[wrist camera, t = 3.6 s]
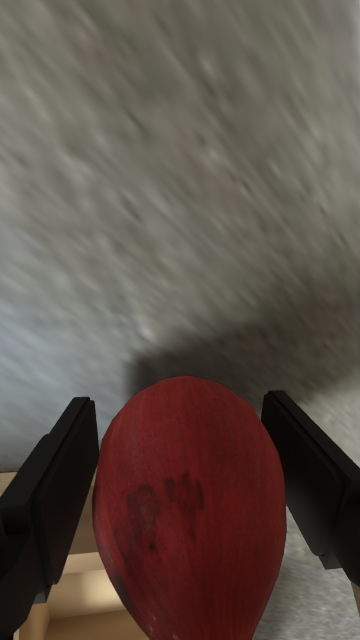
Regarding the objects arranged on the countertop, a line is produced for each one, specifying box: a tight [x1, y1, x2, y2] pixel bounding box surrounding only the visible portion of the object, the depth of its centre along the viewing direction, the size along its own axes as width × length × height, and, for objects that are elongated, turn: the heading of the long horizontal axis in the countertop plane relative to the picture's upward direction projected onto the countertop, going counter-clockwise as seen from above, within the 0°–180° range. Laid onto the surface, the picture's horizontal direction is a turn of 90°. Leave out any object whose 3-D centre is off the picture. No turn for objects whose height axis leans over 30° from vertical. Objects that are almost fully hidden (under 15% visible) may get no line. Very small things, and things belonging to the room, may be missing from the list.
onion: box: [92, 375, 287, 640], centre depth 7 cm, size 6×6×8 cm
